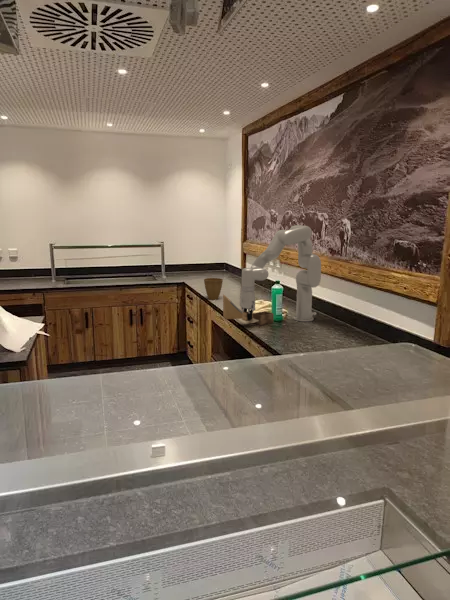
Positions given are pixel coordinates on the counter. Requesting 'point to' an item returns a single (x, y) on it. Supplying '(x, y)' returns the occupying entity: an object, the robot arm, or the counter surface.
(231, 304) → the sandwich container
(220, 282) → the plant pot
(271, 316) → the box
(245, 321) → the lid
